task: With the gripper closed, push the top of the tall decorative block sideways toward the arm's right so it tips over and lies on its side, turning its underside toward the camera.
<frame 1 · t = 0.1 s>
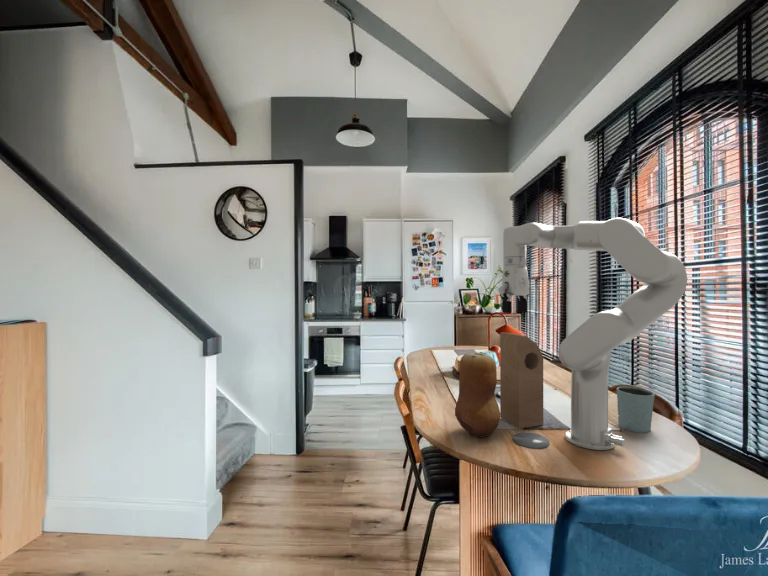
hand: (514, 312, 125), 37 cm above the table, tool pointing down, fingers open, 9 cm apart
grey-green cup: (635, 428, 117), on the table
grey dome: (530, 440, 107), on the table
butternut squash: (477, 434, 112), on the table
decorative block: (521, 422, 122), on the table
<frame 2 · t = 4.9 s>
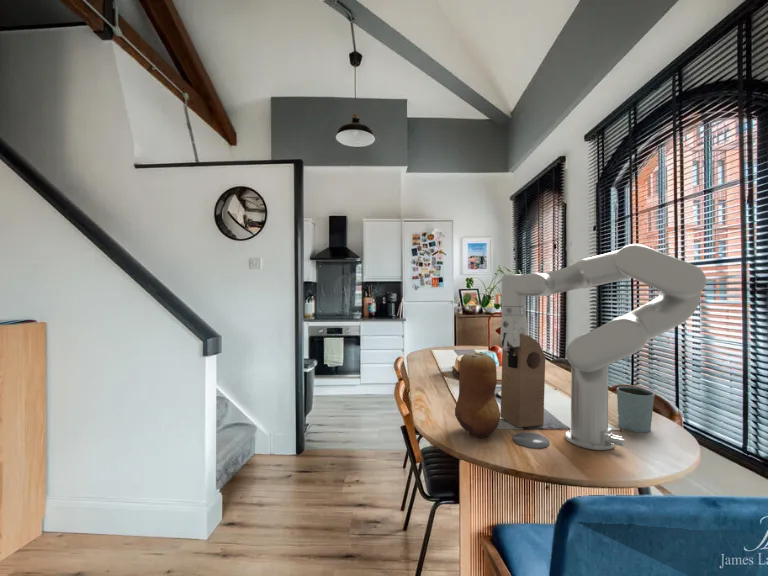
hand: (513, 367, 119), 19 cm above the table, tool pointing down, fingers closed
decorative block: (521, 421, 122), on the table, touching gripper
everything else where it was.
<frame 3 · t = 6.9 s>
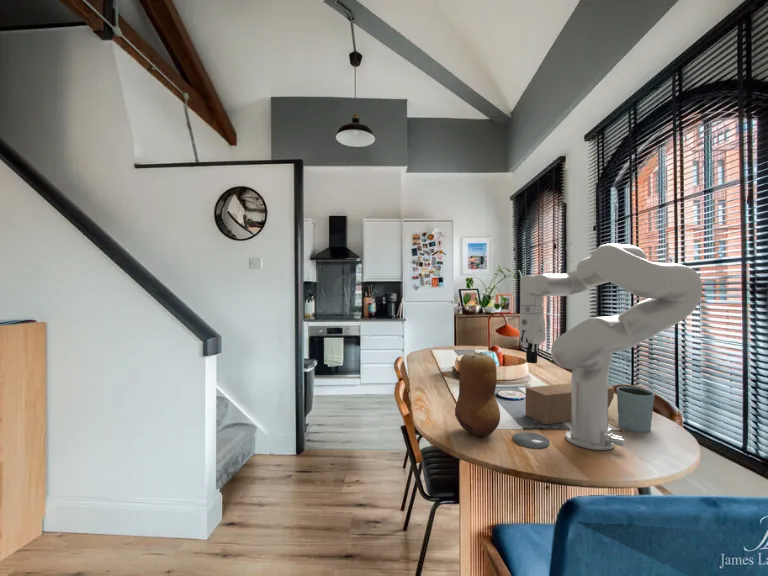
hand: (531, 362, 127), 19 cm above the table, tool pointing down, fingers closed
decorative block: (534, 405, 124), point 5 cm above the table
everything else where it was.
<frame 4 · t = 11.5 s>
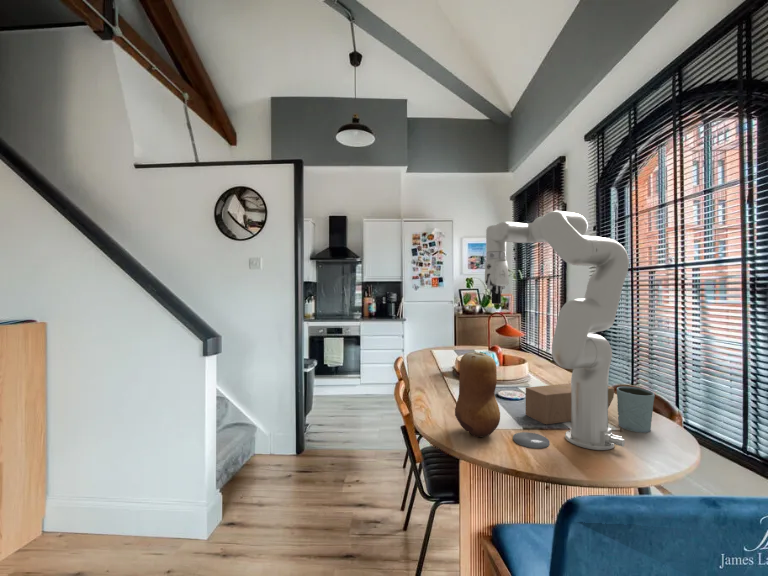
hand: (496, 303, 142), 39 cm above the table, tool pointing down, fingers closed
nothing on the table moved.
at the end: decorative block tilted 90°; decorative block inside the target area (9.1 cm from its centre), point 5.0 cm above the table; butternut squash moved 0.2 cm from its start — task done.
